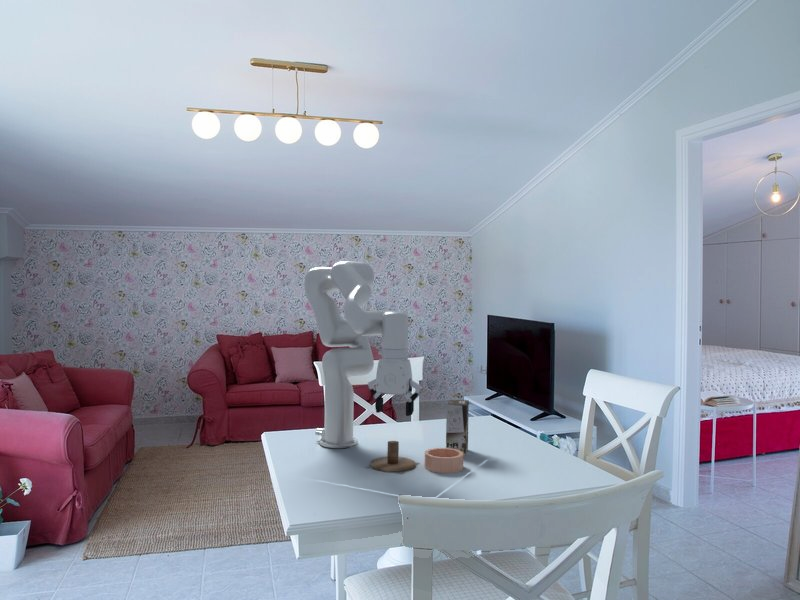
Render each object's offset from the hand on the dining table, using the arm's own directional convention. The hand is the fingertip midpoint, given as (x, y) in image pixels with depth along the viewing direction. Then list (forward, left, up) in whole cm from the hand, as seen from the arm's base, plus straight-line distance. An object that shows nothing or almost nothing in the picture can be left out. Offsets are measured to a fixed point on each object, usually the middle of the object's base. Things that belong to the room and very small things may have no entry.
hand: (394, 413), depth 182 cm
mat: (0, 0, -16) cm, 16 cm away
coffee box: (+10, +24, -16) cm, 31 cm away
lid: (0, 0, -15) cm, 15 cm away
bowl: (+13, +6, -16) cm, 21 cm away
